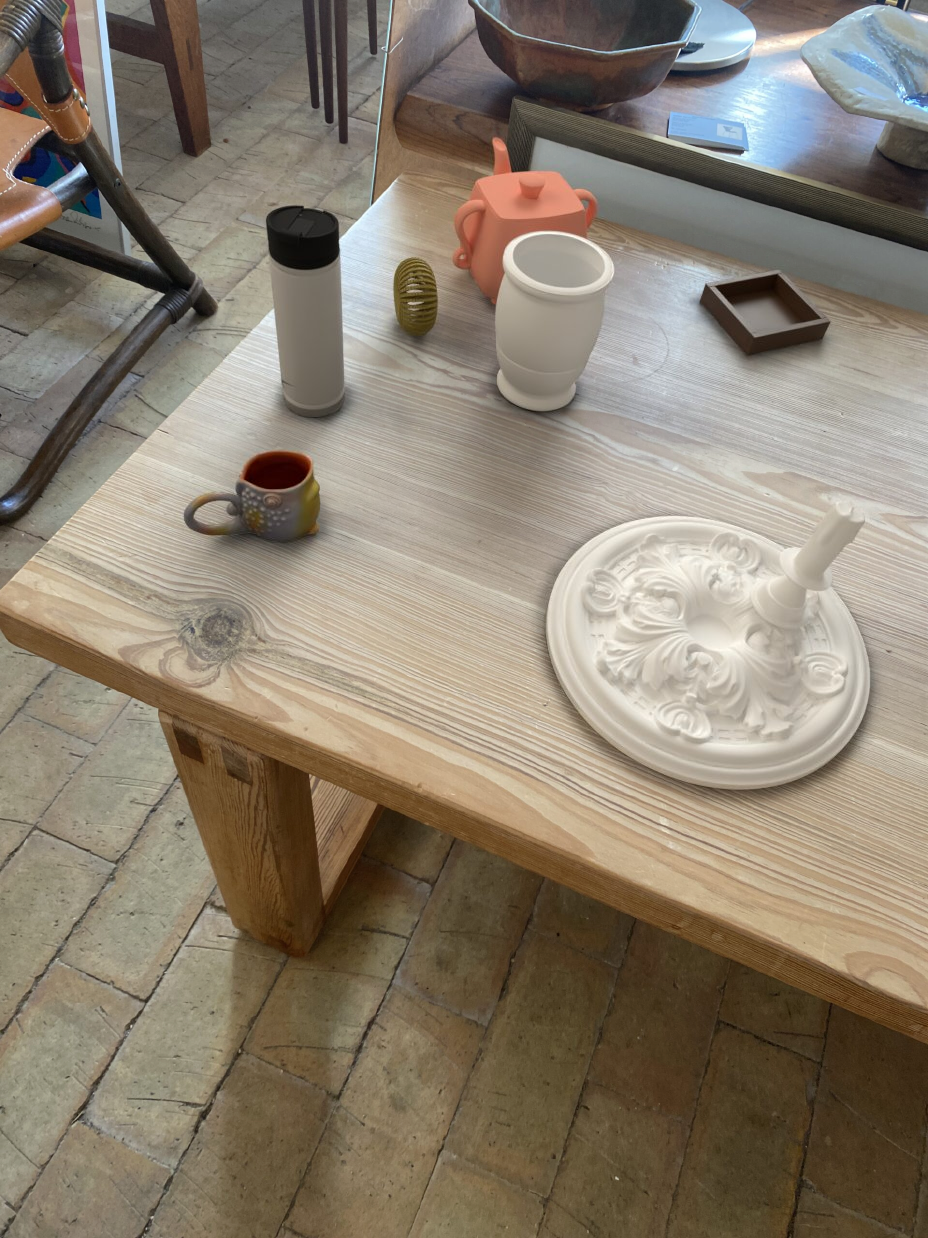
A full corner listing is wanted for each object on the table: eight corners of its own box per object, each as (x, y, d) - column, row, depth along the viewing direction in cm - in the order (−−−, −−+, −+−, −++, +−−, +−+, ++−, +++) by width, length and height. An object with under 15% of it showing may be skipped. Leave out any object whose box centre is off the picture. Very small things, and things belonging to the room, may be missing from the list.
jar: (601, 381, 99) (633, 256, 87) (555, 434, 93) (583, 308, 81) (517, 342, 101) (536, 215, 89) (468, 391, 96) (482, 263, 84)
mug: (308, 485, 86) (304, 432, 81) (331, 537, 83) (328, 486, 77) (180, 515, 83) (167, 462, 77) (198, 570, 79) (186, 519, 74)
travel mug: (272, 412, 92) (251, 227, 76) (295, 372, 96) (280, 188, 79) (332, 426, 91) (323, 243, 75) (352, 385, 95) (348, 202, 79)
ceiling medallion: (751, 493, 90) (762, 470, 88) (933, 726, 76) (953, 707, 73) (494, 563, 82) (498, 540, 80) (644, 838, 68) (654, 821, 65)
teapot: (550, 339, 102) (570, 234, 92) (423, 286, 106) (429, 181, 96) (604, 275, 111) (628, 173, 100) (485, 229, 114) (496, 126, 104)
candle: (783, 638, 76) (865, 540, 67) (736, 595, 78) (809, 494, 69) (818, 614, 79) (900, 517, 70) (772, 573, 81) (846, 473, 72)
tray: (822, 339, 107) (831, 321, 104) (747, 355, 103) (754, 337, 101) (772, 287, 112) (779, 268, 110) (699, 301, 109) (705, 282, 107)
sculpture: (389, 307, 103) (391, 242, 97) (424, 305, 104) (428, 240, 98) (402, 352, 99) (404, 287, 92) (438, 349, 100) (443, 285, 93)
